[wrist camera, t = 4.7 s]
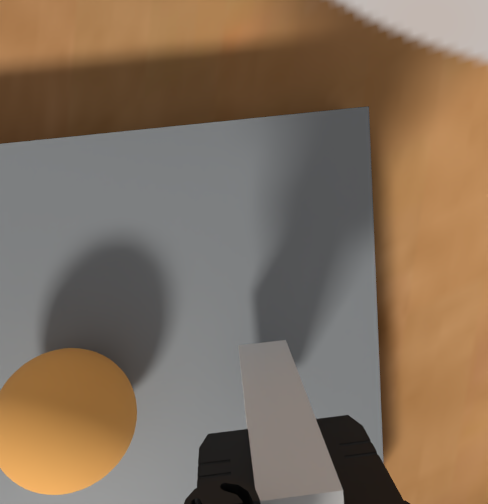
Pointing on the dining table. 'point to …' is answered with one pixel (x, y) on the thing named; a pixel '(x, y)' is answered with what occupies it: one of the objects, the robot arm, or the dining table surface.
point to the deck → (193, 276)
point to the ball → (65, 421)
